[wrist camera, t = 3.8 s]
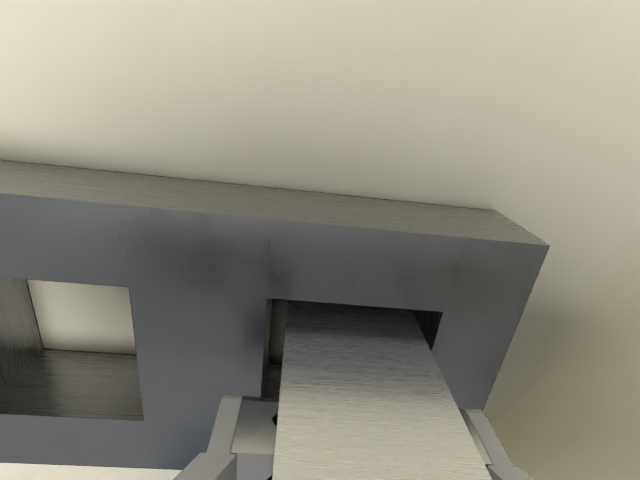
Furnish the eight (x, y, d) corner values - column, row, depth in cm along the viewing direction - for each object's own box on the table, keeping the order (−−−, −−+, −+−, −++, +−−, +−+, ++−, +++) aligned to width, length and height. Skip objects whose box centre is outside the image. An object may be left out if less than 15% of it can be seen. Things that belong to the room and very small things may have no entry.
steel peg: (395, 277, 13) (542, 585, 5) (377, 359, 15) (466, 698, 7) (290, 268, 13) (262, 582, 5) (283, 353, 15) (251, 701, 6)
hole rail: (495, 210, 12) (554, 248, 9) (428, 414, 16) (455, 486, 13) (-419, 117, 10) (-715, 127, 7) (-242, 377, 14) (-388, 453, 11)
